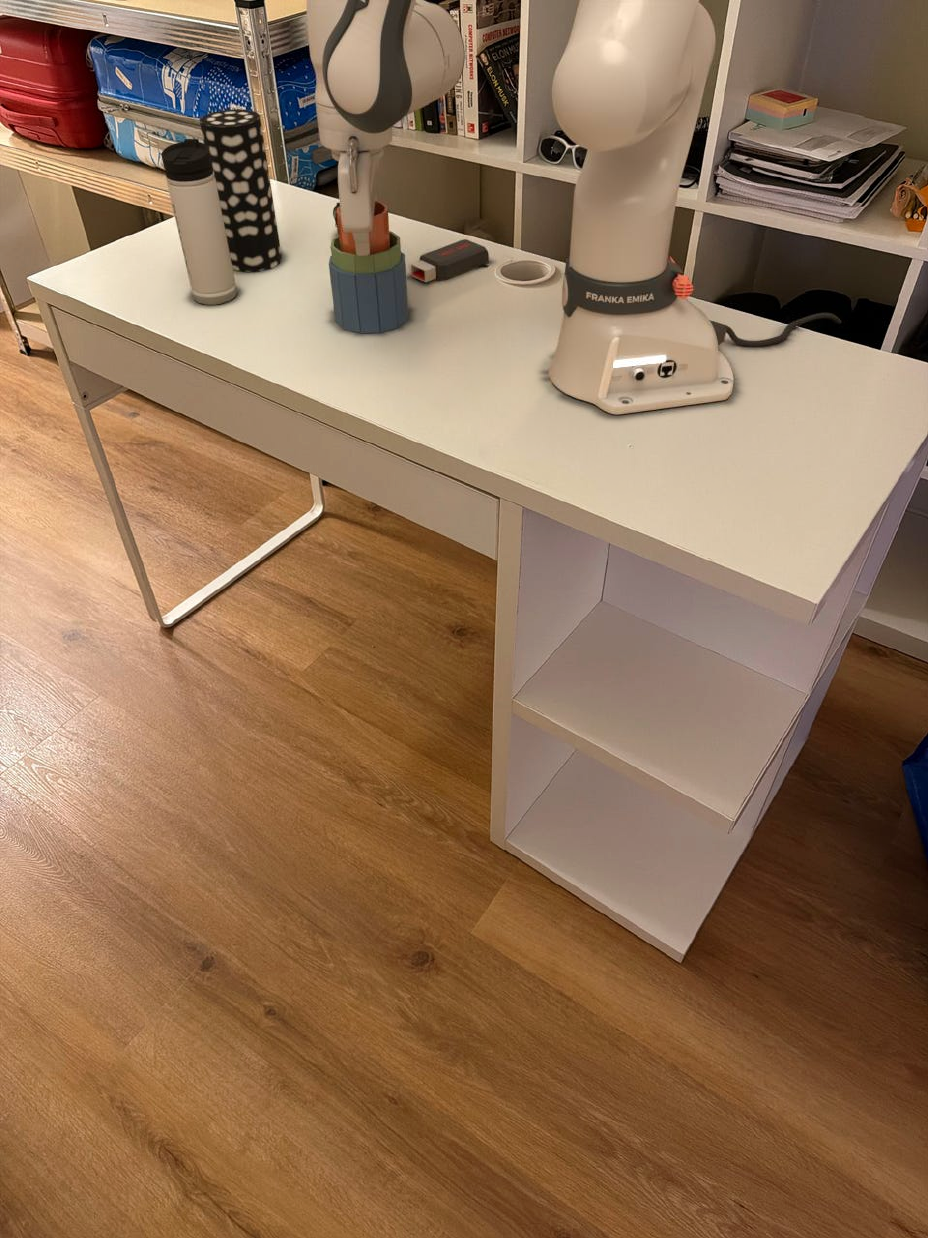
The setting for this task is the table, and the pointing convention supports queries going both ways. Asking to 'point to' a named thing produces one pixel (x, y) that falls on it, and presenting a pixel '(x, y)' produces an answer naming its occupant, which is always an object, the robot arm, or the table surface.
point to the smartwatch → (336, 215)
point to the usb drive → (450, 261)
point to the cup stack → (369, 288)
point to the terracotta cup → (377, 234)
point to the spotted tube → (243, 187)
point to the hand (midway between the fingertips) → (365, 241)
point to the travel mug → (199, 221)
